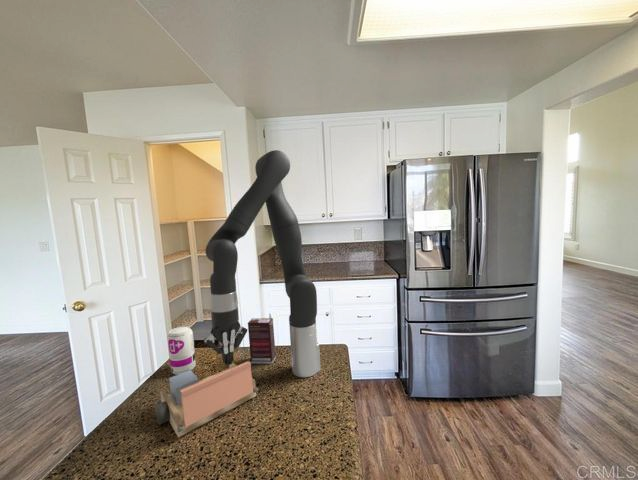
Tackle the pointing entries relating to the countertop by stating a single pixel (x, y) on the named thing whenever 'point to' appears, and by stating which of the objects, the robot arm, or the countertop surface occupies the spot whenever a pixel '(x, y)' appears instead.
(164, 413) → the flatbed
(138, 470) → the countertop surface
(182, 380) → the blue gray block
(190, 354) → the supplement can
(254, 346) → the supplement box
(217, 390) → the pink rectangular board
